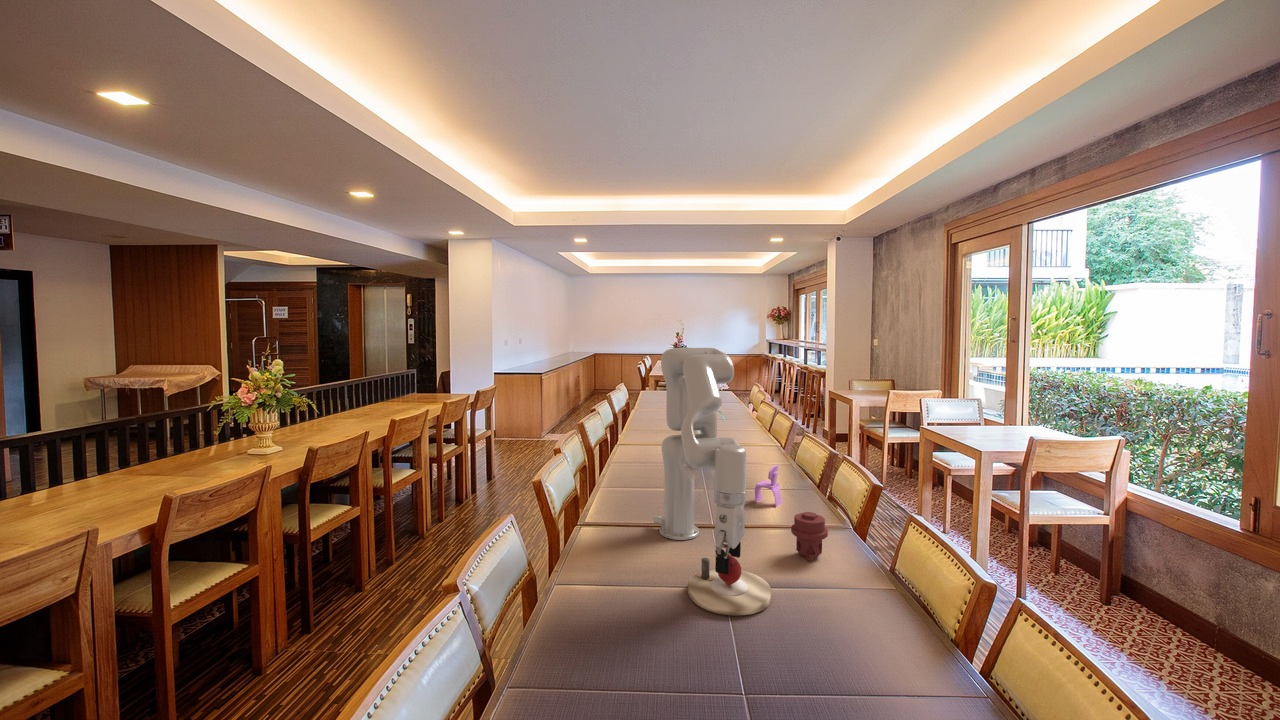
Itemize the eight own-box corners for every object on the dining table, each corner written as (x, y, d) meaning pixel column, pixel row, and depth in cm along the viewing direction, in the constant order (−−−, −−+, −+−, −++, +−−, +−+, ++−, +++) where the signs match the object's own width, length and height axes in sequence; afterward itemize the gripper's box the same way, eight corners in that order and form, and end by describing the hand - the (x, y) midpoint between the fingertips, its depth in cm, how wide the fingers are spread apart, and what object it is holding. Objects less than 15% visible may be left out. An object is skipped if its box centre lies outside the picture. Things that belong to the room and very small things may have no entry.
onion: (742, 581, 132) (742, 549, 132) (739, 592, 126) (739, 559, 126) (719, 578, 134) (719, 546, 133) (715, 588, 128) (715, 556, 128)
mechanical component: (824, 550, 156) (829, 565, 147) (789, 547, 158) (792, 562, 149) (825, 509, 156) (830, 521, 146) (790, 507, 158) (792, 518, 148)
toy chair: (761, 498, 205) (762, 459, 204) (783, 502, 200) (784, 463, 199) (752, 504, 199) (753, 464, 198) (775, 508, 193) (775, 467, 193)
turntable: (743, 625, 116) (744, 596, 115) (671, 595, 129) (671, 569, 129) (785, 591, 131) (786, 565, 130) (717, 567, 144) (717, 544, 144)
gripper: (734, 510, 119) (733, 583, 121) (753, 488, 135) (752, 553, 136) (702, 505, 123) (701, 576, 124) (725, 484, 138) (724, 547, 140)
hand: (728, 564), depth 130 cm, fingers open, 9 cm apart
